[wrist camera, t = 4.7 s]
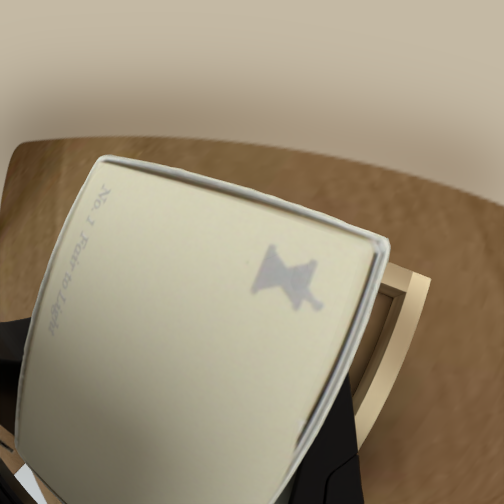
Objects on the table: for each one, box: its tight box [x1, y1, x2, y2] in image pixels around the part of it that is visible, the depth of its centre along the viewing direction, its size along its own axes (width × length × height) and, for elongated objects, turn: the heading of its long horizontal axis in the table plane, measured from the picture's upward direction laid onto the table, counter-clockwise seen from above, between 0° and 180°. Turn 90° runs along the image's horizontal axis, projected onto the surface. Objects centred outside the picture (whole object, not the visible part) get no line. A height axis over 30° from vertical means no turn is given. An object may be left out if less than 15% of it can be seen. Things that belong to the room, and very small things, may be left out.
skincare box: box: [14, 155, 391, 504], centre depth 9 cm, size 6×4×12 cm
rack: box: [352, 262, 431, 450], centre depth 13 cm, size 21×12×2 cm, turn 157°
